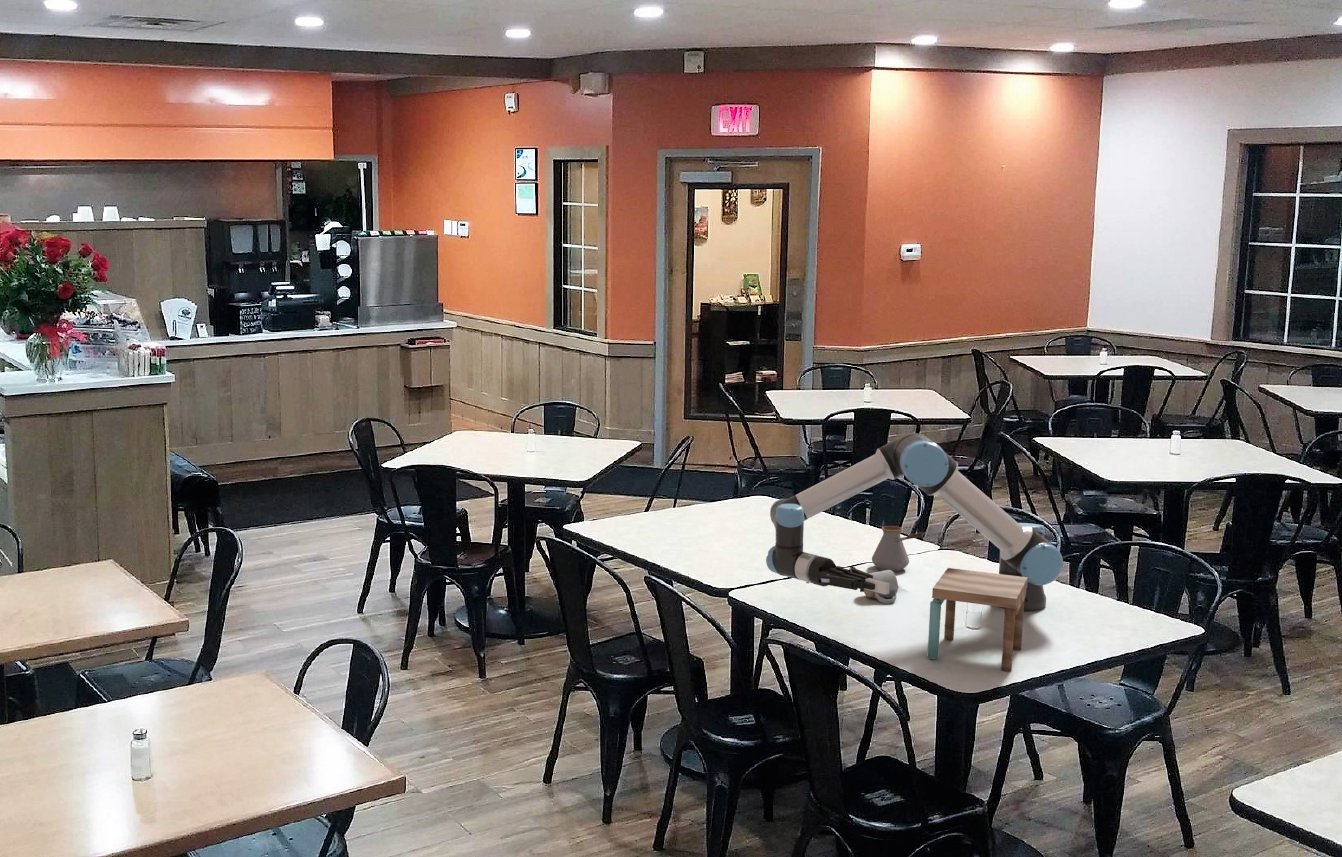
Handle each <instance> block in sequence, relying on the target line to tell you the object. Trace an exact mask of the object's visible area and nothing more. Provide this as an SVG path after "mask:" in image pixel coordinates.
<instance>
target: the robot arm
mask: <svg viewBox="0 0 1342 857" xmlns="http://www.w3.org/2000/svg"><path fill="white" fill-rule="evenodd" d="M902 476H905V478H906V479H907V480H908V481H909V482H910V483H912V484H914V485H916V486H917V487H918V488H919V489H920V490H921V491H922V492H924V493H925V494H926V495H927V496H937V497H938V498H940V499H941V500H942V501H943V502H944V503H946V505H948V506H949V507H950V508H951V509H952V510H953V511H954V512H956V513H957V514H958V515H959V516H960V517H962V518H963V519H964V520H965V521H966V522H967V523H969V524H970V525H971V527H973V528H974V529H975V530H977V532H979V533H980V534H981V535H982V536H984V537H985V538H986V539H987V540H988V541H990V542H991V544H993V545H994V546H995V547H997V549H999V565H998V574H1003V575H1011V576H1020V577H1028V580H1027V588H1026V597H1025V599H1024V612H1026V611H1037V610H1039V611H1040V610H1043V609H1045V607H1046V606H1047V597H1046V596H1047V595H1046V594H1045V591H1044V586H1045V585H1048V584H1051V583H1052V582H1054V581H1055V580H1056V579H1057V578H1058V577H1059V576H1060V574H1061V573H1062V570H1063V565H1064V559H1063V555H1062V553H1061V552H1060V550H1059V548H1057V547H1056V545H1054V544H1052V543H1051V542H1050V541H1049V540H1048V539H1046V538H1045V534H1046V531H1045V527H1044V526H1043V525H1042V524H1037V523H1028V522H1018V521H1016V520H1015V519H1014V518H1013V517H1012V516H1011V515H1010V514H1009V513H1007V512H1006V511H1005V510H1004V509H1003V508H1001V507H1000V506H999V505H998V504H997V503H995V502H994V501H993V499H991V498H990V497H989V496H988V495H986V494H985V493H984V492H983V491H982V490H980V489H979V488H978V487H977V486H976V485H975V484H973V482H971V481H970V480H969V479H968V478H967V477H966V476H965V475H963V474H962V473H961V471H959V463H958V462H957V461H956V460H955V459H954V458H952V457H951V456H950V455H949V454H948V453H946V451H945V450H944V449H943V448H942V447H941V446H940V445H939V444H937V443H936V442H933V441H932V439H930V438H929V437H928V436H926V435H925V434H921V433H915V432H912V433H911V432H910V433H907V434H904V435H902V436H899V437H897V438H895V439H894V440H892V441H889V442H888V443H886V444H885V445H883V446H880V447H879V448H877V449H876V451H875V454H873V455H871V456H869V457H867V458H865V459H863V460H861V461H859V462H857V463H856V464H854V465H851V466H849V467H848V468H846V469H843V470H841V471H840V472H838V473H836V474H834V475H831V476H830V477H828V478H826V479H824V480H822V481H820V482H819V483H816V484H815V485H813V486H810V487H808V488H806V489H805V490H803V491H801V492H799V493H797V494H795V495H792V496H791V497H789V498H779V499H777V500H776V501H774V502H773V504H772V505H771V507H770V509H769V510H770V511H769V515H770V520H771V522H772V524H773V526H774V530H775V545H773V546H772V547H771V548H769V550H768V552H767V556H766V558H765V564H766V566H767V569H768V570H769V571H770V572H773V573H775V574H778V575H779V576H781V577H788V578H792V579H795V580H799V581H803V582H805V583H806V584H813V585H816V586H820V587H828V586H831V587H836V588H842V589H846V590H847V589H848V590H853V591H857V590H858V589H859V592H860V593H864V588H865V589H866V590H870V591H874V592H877V593H881V594H885V595H886V594H889V583H887V582H883V581H879V580H875V579H873V575H871V574H869V573H867V572H865V571H863V570H860V569H857V568H856V567H855V566H849V569H847V568H844V567H843V566H840V565H836V564H835V561H834V560H832V559H831V558H829V557H824V556H821V555H817V554H814V553H809V552H805V551H804V529H805V528H804V524H805V521H807V520H808V519H811V518H813V517H815V516H817V515H818V514H820V513H822V512H824V511H826V510H828V509H830V508H832V507H834V506H836V505H838V504H840V503H842V502H844V501H846V500H848V499H850V498H852V497H854V496H856V495H858V494H860V493H862V492H863V491H866V490H868V489H870V488H872V487H874V486H876V485H878V484H881V483H882V482H884V481H886V480H888V479H889V480H892V481H893V480H896V479H898V478H900V477H902ZM1002 608H1003V609H1005V607H1002Z"/></svg>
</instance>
